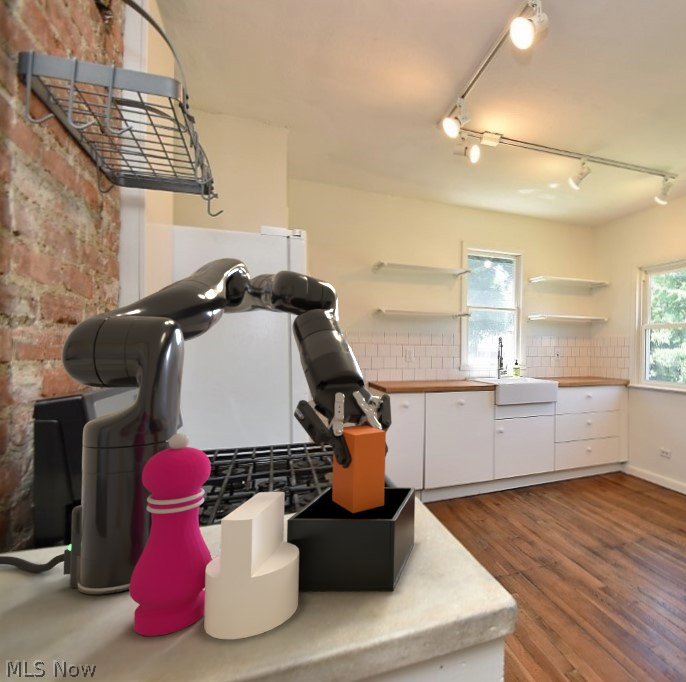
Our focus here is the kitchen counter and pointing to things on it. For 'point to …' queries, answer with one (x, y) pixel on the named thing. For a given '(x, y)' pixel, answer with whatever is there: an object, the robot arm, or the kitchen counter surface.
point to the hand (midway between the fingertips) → (365, 461)
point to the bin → (353, 542)
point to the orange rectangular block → (361, 470)
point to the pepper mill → (172, 542)
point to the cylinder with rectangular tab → (252, 571)
